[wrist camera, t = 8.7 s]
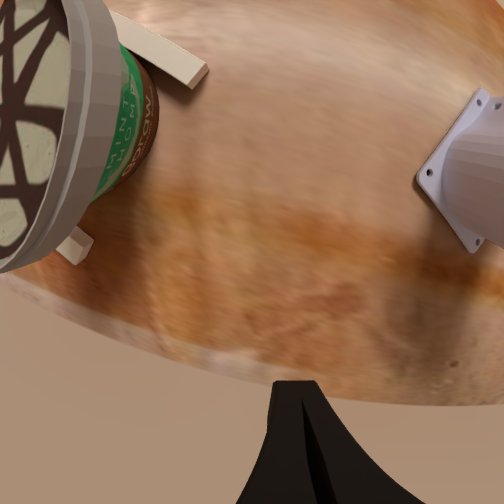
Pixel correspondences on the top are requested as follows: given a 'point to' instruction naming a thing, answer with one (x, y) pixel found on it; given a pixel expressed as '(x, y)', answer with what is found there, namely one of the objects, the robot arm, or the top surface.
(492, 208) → the robot arm
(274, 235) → the top surface
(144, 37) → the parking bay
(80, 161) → the food container
